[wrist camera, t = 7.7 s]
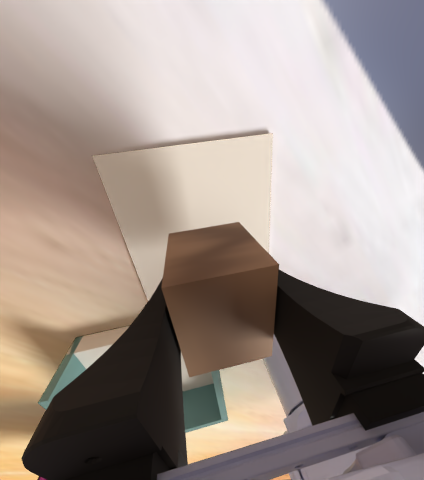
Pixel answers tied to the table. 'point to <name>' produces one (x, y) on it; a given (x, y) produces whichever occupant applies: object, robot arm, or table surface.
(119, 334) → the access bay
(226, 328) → the walnut block
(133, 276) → the table surface
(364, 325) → the robot arm
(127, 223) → the mat
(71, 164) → the table surface
